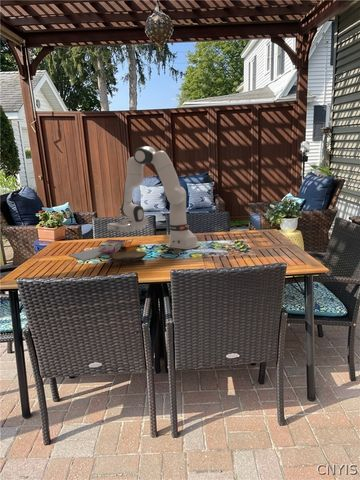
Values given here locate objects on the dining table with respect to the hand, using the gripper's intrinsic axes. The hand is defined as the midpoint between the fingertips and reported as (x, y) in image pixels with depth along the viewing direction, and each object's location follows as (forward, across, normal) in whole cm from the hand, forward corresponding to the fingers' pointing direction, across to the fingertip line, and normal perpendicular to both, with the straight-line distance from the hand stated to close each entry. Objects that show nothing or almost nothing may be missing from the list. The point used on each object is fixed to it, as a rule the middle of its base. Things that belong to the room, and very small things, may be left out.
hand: (108, 229), depth 240 cm
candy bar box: (-4, +2, +10) cm, 11 cm away
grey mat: (+13, 0, +14) cm, 19 cm away
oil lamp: (+8, +33, +14) cm, 37 cm away
